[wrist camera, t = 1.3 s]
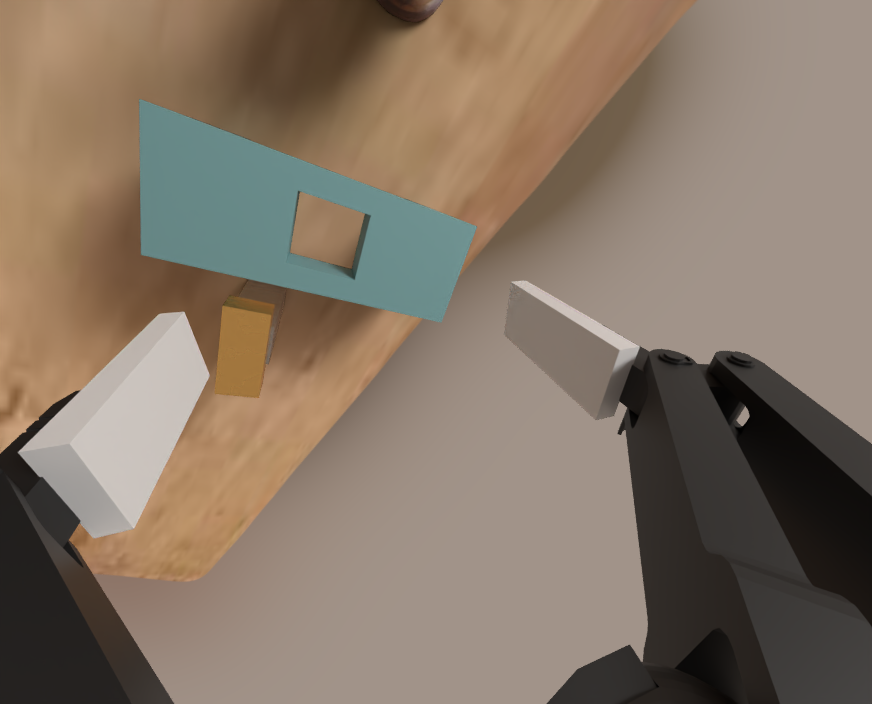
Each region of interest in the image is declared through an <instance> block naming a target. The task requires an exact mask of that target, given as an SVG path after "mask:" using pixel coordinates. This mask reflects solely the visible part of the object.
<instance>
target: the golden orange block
mask: <svg viewBox="0 0 872 704" xmlns="http://www.w3.org/2000/svg"><path fill="white" fill-rule="evenodd" d="M286 289H287V288H286V287H282V286H277V285H273V284H268V283H264V282H259V281H255V280H251V279H249V280H248V282H247V283H246V285H245V286H244V288H243V290H242V291H241V293H240V294H239V296H238V297H236V296H231V295H230V296H229V297H228V299H227V300H226V302H225V303H224V304H223V306H222V317H221V328H220V339H219V350H218V361H217V372H216V383H215V394H222V395H233V396H243V397H254V398H259V395H260V391H261V387H262V384H263V378H264V371H265V365H266V364H269V360H270V357H271V353H272V349H273V345H274V342H275V338H276V334H277V330H278V326H279V323H280V319H281V315H282V311H283V307H284V301H285V295H286Z"/></svg>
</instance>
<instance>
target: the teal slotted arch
mask: <svg viewBox="0 0 872 704" xmlns="http://www.w3.org/2000/svg"><path fill="white" fill-rule="evenodd" d="M139 119H140V215H141V255H144V256H148V257H153V258H157V259H162V260H166V261H171V262H175V263H179V264H184V265H188V266H193V267H197V268H202V269H206V270H211V271H215V272H219V273H224V274H228V275H233V276H237V277H242V278H246V279H251V280H255V281H259V282H264V283H268V284H273V285H277V286H282V287H286V288H291V289H295V290H299V291H304V292H308V293H313V294H317V295H322V296H326V297H331V298H335V299H339V300H344V301H348V302H353V303H357V304H362V305H366V306H371V307H375V308H379V309H384V310H388V311H393V312H397V313H402V314H406V315H411V316H415V317H419V318H424V319H429V320H433V321H437V322H441V321H442V319H443V317H444V314H445V311H446V309H447V305H448V303H449V300H450V297H451V295H452V292H453V290H454V286H455V284H456V282H457V279H458V276H459V274H460V271H461V268H462V266H463V263H464V260H465V258H466V255H467V252H468V250H469V247H470V244H471V241H472V239H473V236H474V233H475V231H476V228H477V226H474V225H472V224H469V223H467V222H464V221H462V220H459V219H456V218H454V217H451V216H449V215H446V214H444V213H441V212H439V211H436V210H433V209H431V208H428V207H426V206H423V205H420V204H418V203H415V202H412V201H410V200H407V199H403V198H401V197H398V196H395V195H393V194H390V193H388V192H385V191H382V190H380V189H377V188H374V187H372V186H369V185H366V184H364V183H361V182H358V181H356V180H353V179H351V178H348V177H345V176H343V175H340V174H337V173H335V172H332V171H329V170H327V169H324V168H321V167H319V166H316V165H314V164H311V163H308V162H306V161H303V160H300V159H298V158H295V157H292V156H290V155H287V154H284V153H282V152H279V151H277V150H274V149H271V148H269V147H266V146H263V145H261V144H258V143H255V142H253V141H251V140H249V139H246V138H244V137H241V136H238V135H236V134H233V133H230V132H228V131H225V130H222V129H220V128H217V127H215V126H212V125H209V124H207V123H204V122H201V121H198V120H196V119H193V118H190V117H187V116H185V115H182V114H179V113H177V112H174V111H171V110H168V109H166V108H163V107H160V106H157V105H155V104H152V103H149V102H147V101H144V100H141V99H139ZM300 191H301V192H304V193H306V194H309V195H312V196H315V197H318V198H321V199H324V200H327V201H330V202H333V203H336V204H339V205H342V206H345V207H348V208H350V209H353V210H356V211H359V212H362V213H365V216H364V220H363V224H362V228H361V232H360V237H359V241H358V245H357V249H356V253H355V257H354V261H353V266H352V269H349V268H345V267H341V266H337V265H334V264H330V263H326V262H322V261H318V260H315V259H311V258H307V257H303V256H300V255H296V254H292V253H290V248H291V242H292V236H293V230H294V224H295V218H296V212H297V206H298V199H299V193H300Z"/></svg>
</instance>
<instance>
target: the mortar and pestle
mask: <svg viewBox="0 0 872 704" xmlns="http://www.w3.org/2000/svg"><path fill="white" fill-rule="evenodd" d="M377 1H378V2H379V3H380V5H381V6H383V7H384V8H385V9H386V10H387V11H388V12H389V13H391V14H392V15H394V16H396V17H398V18H400V19H402V20H405V21H410V22H417V21H421V20H423V19H426V18H428V17H429V16H431V15H432V14H433V13H434V12H435V11H436V9H437V8H438V7H439V6H440V4H441V3H442V2H443V0H377Z"/></svg>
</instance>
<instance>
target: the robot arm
mask: <svg viewBox="0 0 872 704" xmlns="http://www.w3.org/2000/svg"><path fill="white" fill-rule="evenodd" d="M504 335H505V336H506V337H507V338H508V339H509V340H510V341H511V342H512V343H513V344H515V345H516V346H517V347H518V348H519V349H520V350H521V351H522V352H523V353H524V354H525V355H526V356H527V357H529V358H530V359H531V360H532V361H533V362H534V363H535V364H536V365H537V366H538V367H539V368H540V369H541V370H542V371H544V372H545V373H546V374H547V375H548V376H549V377H550V378H551V379H552V380H553V381H554V382H556V384H557V385H559V386H560V387H561V388H562V389H563V390H564V391H565V392H566V393H567V394H568V395H570V397H572V399H574V400H575V401H576V402H577V403H578V404H579V405H580V406H581V407H582V408H583V409H584V410H585V411H586V412H588V413H589V414H590V415H591V416H592V417H593V418H594V419H595V420H599V419H603V418H607V417H611V416H614V414H615V412H616V409H617V406H618V403H619V401H620V402H621V403H622V404H624V405H625V406H626V407H627V410H626V413H625V415H624V418H623V420H622V423H621V425H620V428H619V430H618V434H619V435H621V434H622V431H624V430H626V437H627V446H628V455H629V463H630V471H631V480H632V488H633V497H634V505H635V514H636V523H637V531H638V539H639V547H640V556H641V565H642V573H643V582H644V590H645V599H646V608H647V616H648V632H647V637H646V642H645V647H644V655H643V662H641V661H640V659H639V658H638V656H637V655H636V653H635V652H634V650H633V649H632V647H631V646H630V645H628V646H625V647H624V648H621V649H619V650H617V651H615V652H613V653H611V654H609V655H606V656H605V657H602V658H600V659H598V660H596V661H594V662H592V663H590V664H588V665H585V666H583V667H581V668H579V669H577V670H576V672H575V673H574V674H573V675H572V676H571V677H570V678H569V679H568V680H567V682H566V683H565V684H564V685H563V686H562V687H561V688H560V689H559V690H558V692H557V693H556V694H555V695H554V696H553V697H552V698H551V699H550V701H549V702H548V703H547V704H872V444H871V443H870V442H868V441H867V440H866V439H864V438H863V437H862V436H860V435H859V434H857V433H856V432H855V431H854V430H852V429H851V428H850V427H848V426H847V425H846V424H844V423H843V422H841V421H840V420H839V419H838V418H836V417H835V416H833V415H832V414H831V413H829V412H828V411H827V410H826V409H824V408H823V407H821V406H820V405H819V404H817V403H816V402H815V401H813V400H812V399H811V398H809V397H808V396H807V395H806V394H804V393H803V392H802V391H800V390H799V389H798V388H796V387H795V386H793V385H792V384H791V383H790V382H788V381H787V380H785V379H784V378H783V377H781V376H780V375H779V374H777V373H776V372H775V371H773V370H772V369H771V368H769V367H768V366H767V365H765V364H764V363H762V362H761V361H759V360H757V359H755V358H753V357H751V356H750V355H748V354H745V353H741V352H730V351H719V352H716V353H715V355H714V357H713V359H712V361H711V363H710V365H708V364H697V363H696V362H695V361H694V360H693V359H691V358H690V357H688V356H686V355H684V354H681V353H679V352H675V351H671V350H664V349H656V350H652V351H650V352H649V351H647V350H646V349H644V348H642V347H640V346H639V345H637V344H635V343H633V342H632V341H630V340H628V339H626V338H625V337H622V336H621V335H619V334H618V333H616V332H614V331H612V330H611V329H609V328H607V327H606V326H604V325H602V324H600V323H598V322H596V321H595V320H593V319H591V318H589V317H588V316H586V315H584V314H583V313H581V312H579V311H577V310H576V309H574V308H572V307H570V306H569V305H567V304H565V303H564V302H562V301H560V300H558V299H557V298H555V297H553V296H551V295H550V294H548V293H546V292H544V291H543V290H541V289H539V288H538V287H536V286H534V285H532V284H530V283H529V282H527V281H515V282H511V286H510V295H509V302H508V309H507V317H506V324H505V331H504ZM209 376H210V375H209V372H208V370H207V367H206V365H205V362H204V360H203V357H202V355H201V352H200V350H199V347H198V345H197V342H196V340H195V337H194V335H193V332H192V330H191V327H190V325H189V322H188V320H187V317H186V315H185V312H174V313H163V314H158V315H157V316H156V317H155V318H154V319H153V320H152V321H151V322H150V323H149V324H148V325H147V326H146V327H145V328H144V329H143V330H142V331H141V332H140V333H139V334H138V335H137V336H136V337H135V338H134V339H133V340H132V341H131V342H130V343H129V344H128V345H127V346H126V347H125V348H124V349H123V350H122V351H121V352H120V353H119V354H118V355H117V356H116V357H115V358H114V359H113V360H112V361H110V362H109V363H108V364H107V365H106V366H105V367H104V368H103V369H102V370H101V371H100V372H99V373H98V374H97V375H96V376H95V377H94V378H93V379H92V380H91V381H90V382H89V383H88V384H87V385H86V386H85V387H84V388H83V389H82V390H80V391H75V392H73V393H72V394H70V395H68V396H67V397H65V398H63V399H61V400H60V401H58V402H56V403H55V404H53V405H52V406H51V407H50V408H49V409H48V410H47V411H46V412H45V413H44V414H42V415H41V416H40V417H39V420H38V421H35V422H34V423H33V424H32V425H31V426H30V427H28V428H27V429H26V432H25V433H22V434H21V435H20V436H19V437H18V438H17V439H16V440H14V441H13V442H12V443H11V444H10V445H9V446H8V447H7V448H6V449H5V450H4V451H3V452H2V453H1V454H0V704H174V703H173V701H172V700H171V698H170V696H169V695H168V693H167V692H166V690H165V688H164V687H163V685H162V684H161V682H160V680H159V679H158V677H157V676H156V674H155V672H154V671H153V669H152V668H151V666H150V664H149V663H148V661H147V660H146V658H145V657H144V655H143V653H142V652H141V650H140V649H139V647H138V646H137V644H136V642H135V641H134V639H133V637H132V636H131V634H130V633H129V631H128V629H127V628H126V626H125V625H124V623H123V622H122V620H121V618H120V617H119V615H118V614H117V612H116V610H115V609H114V607H113V606H112V604H111V602H110V601H109V599H108V598H107V596H106V595H105V593H104V592H103V590H102V588H101V587H100V585H99V583H98V582H97V580H96V579H95V577H94V575H93V574H92V572H91V571H90V569H89V567H88V566H87V564H86V563H85V561H84V559H83V558H82V556H81V555H80V553H79V551H78V550H77V548H76V547H75V546H74V545H73V544H72V543H71V542H70V541H69V538H70V537H71V535H72V534H73V532H74V531H75V529H76V528H77V526H78V525H79V523H80V524H81V525H82V526H83V527H84V528H85V529H86V531H87V532H88V533H89V534H90V535H91V536H92V537H93V538H98V537H102V536H106V535H110V534H115V533H119V532H123V531H127V530H132V529H134V528H135V526H136V524H137V522H138V520H139V518H140V516H141V514H142V511H143V509H144V507H145V505H146V503H147V501H148V499H149V497H150V495H151V493H152V491H153V489H154V487H155V485H156V483H157V481H158V479H159V477H160V475H161V473H162V471H163V469H164V467H165V465H166V463H167V461H168V459H169V457H170V455H171V453H172V451H173V449H174V447H175V445H176V443H177V441H178V439H179V437H180V435H181V433H182V431H183V429H184V426H185V424H186V422H187V420H188V418H189V416H190V414H191V412H192V410H193V408H194V406H195V404H196V402H197V400H198V398H199V396H200V394H201V392H202V390H203V388H204V386H205V384H206V382H207V380H208V378H209ZM745 406H746V408H747V409H748V411H749V415H750V417H749V419H748V420H747V422H746V423H745V424H744V426H741V425H740V424H739V423H738V422H737V421H736V420H737V418H738V417H739V415H740V414H741V412H742V410H743V409H744V407H745Z"/></svg>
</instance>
